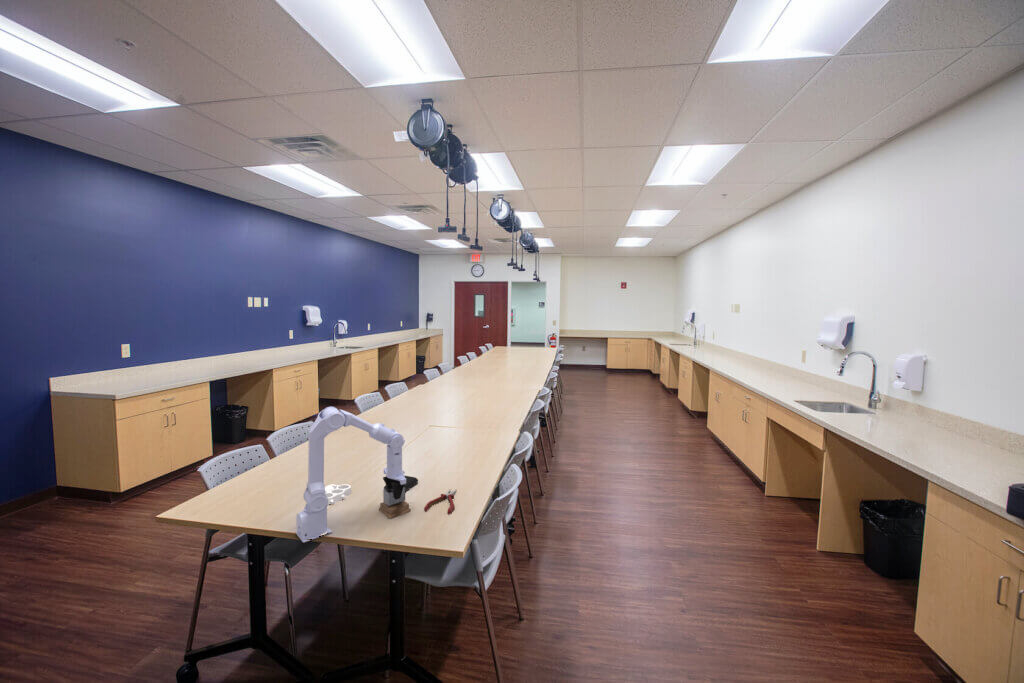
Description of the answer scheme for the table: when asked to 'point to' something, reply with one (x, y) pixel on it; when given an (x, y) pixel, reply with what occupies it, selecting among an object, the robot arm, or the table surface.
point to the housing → (392, 496)
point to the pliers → (443, 497)
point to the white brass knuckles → (337, 492)
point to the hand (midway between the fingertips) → (394, 496)
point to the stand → (394, 509)
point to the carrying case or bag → (408, 482)
